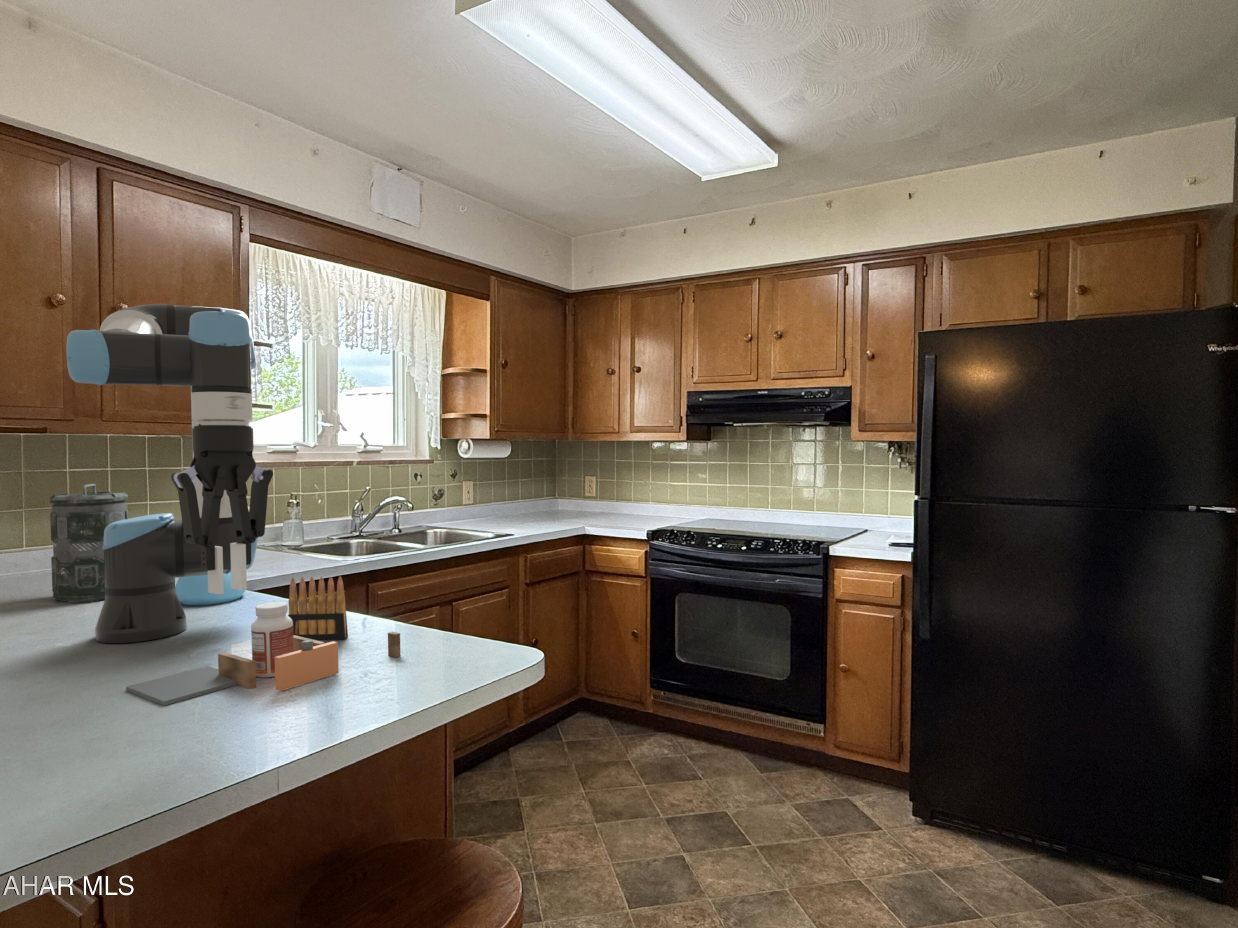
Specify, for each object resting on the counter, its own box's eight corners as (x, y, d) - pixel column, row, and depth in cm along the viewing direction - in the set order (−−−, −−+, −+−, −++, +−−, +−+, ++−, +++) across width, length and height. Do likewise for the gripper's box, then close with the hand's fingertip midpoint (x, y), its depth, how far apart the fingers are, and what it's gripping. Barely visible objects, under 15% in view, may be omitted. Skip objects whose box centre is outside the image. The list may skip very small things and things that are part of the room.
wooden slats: (218, 678, 115) (217, 653, 115) (346, 643, 135) (346, 622, 135) (271, 695, 107) (271, 669, 107) (400, 655, 127) (400, 633, 126)
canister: (122, 600, 176) (118, 484, 175) (42, 606, 170) (38, 487, 169) (138, 588, 190) (135, 481, 190) (65, 593, 185) (61, 483, 184)
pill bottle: (297, 665, 122) (296, 599, 122) (290, 676, 116) (289, 607, 116) (257, 668, 121) (255, 602, 120) (248, 680, 115) (246, 610, 114)
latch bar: (274, 689, 109) (273, 648, 109) (333, 671, 118) (332, 633, 117) (280, 691, 108) (279, 650, 108) (339, 673, 117) (338, 634, 117)
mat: (126, 690, 110) (126, 686, 110) (207, 669, 120) (207, 665, 120) (164, 705, 104) (164, 701, 104) (246, 681, 114) (246, 678, 114)
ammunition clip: (348, 637, 140) (346, 575, 139) (345, 639, 138) (343, 576, 137) (291, 638, 139) (289, 576, 139) (287, 641, 137) (285, 578, 137)
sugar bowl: (159, 605, 170) (158, 556, 170) (209, 592, 185) (208, 547, 184) (213, 608, 167) (211, 557, 166) (260, 594, 181) (258, 548, 181)
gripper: (177, 422, 93) (182, 604, 94) (290, 424, 106) (294, 584, 107) (149, 424, 98) (155, 598, 98) (261, 425, 110) (266, 579, 111)
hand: (227, 590), depth 103 cm, fingers open, 3 cm apart
